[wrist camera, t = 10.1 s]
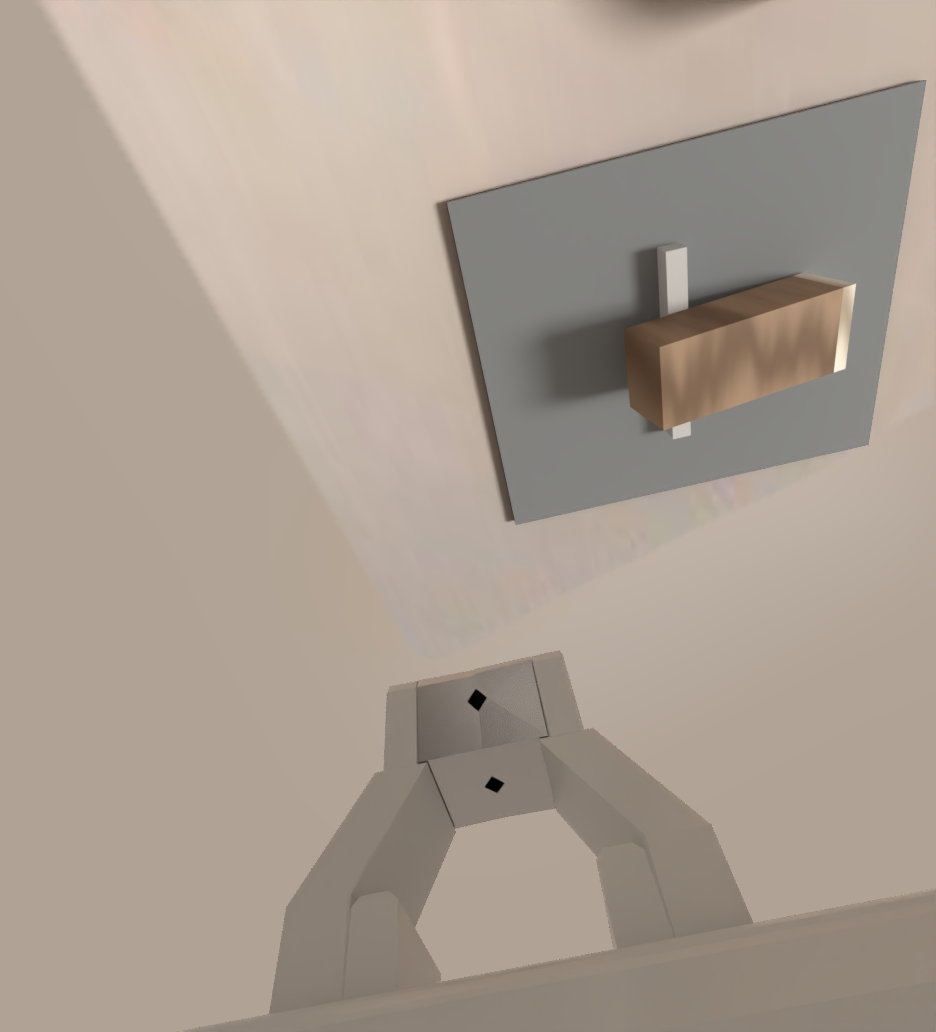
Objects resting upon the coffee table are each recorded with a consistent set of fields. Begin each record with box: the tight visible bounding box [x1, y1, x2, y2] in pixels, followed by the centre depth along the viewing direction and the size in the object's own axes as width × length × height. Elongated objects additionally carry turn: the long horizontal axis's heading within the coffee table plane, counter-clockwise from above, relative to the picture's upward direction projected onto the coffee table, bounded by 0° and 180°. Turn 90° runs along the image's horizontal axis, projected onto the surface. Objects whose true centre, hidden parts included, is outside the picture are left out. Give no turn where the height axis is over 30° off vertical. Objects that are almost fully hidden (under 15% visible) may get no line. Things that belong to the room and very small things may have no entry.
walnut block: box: [624, 272, 856, 431], centre depth 37 cm, size 5×4×12 cm
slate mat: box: [446, 80, 926, 525], centre depth 39 cm, size 22×26×2 cm
